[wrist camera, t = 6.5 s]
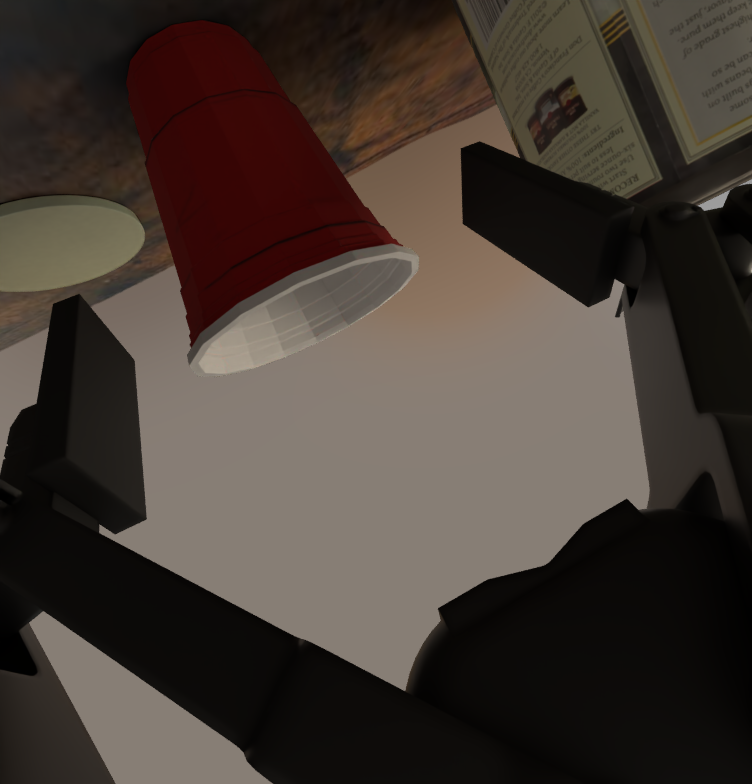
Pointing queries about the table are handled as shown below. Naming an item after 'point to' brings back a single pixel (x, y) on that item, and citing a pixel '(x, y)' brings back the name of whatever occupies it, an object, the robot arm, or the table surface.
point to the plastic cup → (252, 204)
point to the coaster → (64, 241)
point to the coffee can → (623, 90)
